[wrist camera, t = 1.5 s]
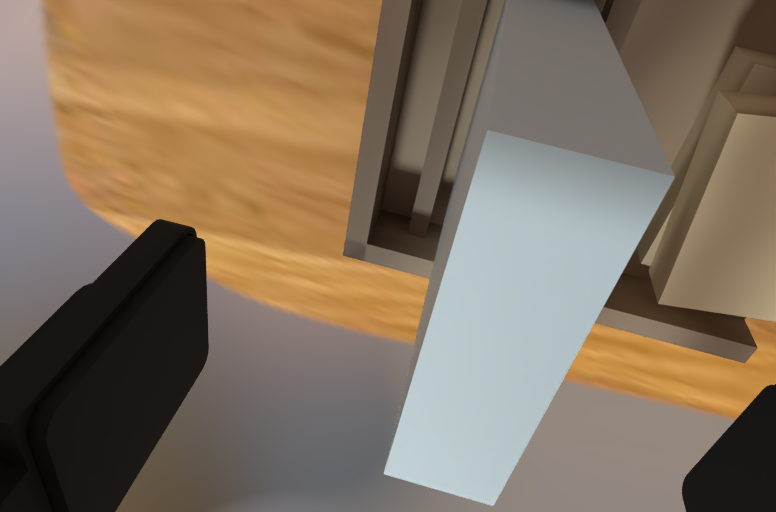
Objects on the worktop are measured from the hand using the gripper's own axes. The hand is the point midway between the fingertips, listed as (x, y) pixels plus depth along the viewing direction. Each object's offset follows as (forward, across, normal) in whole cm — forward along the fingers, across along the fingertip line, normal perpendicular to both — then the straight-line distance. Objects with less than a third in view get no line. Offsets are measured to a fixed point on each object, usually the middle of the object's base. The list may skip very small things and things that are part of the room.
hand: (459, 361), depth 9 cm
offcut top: (+10, -8, 0) cm, 13 cm away
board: (+12, -1, 0) cm, 12 cm away
